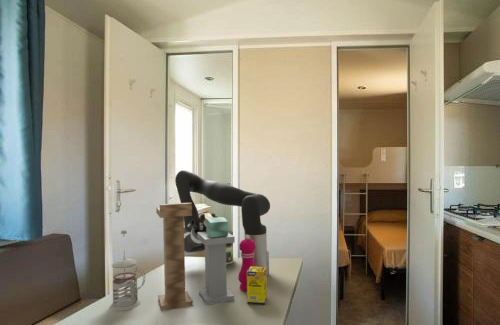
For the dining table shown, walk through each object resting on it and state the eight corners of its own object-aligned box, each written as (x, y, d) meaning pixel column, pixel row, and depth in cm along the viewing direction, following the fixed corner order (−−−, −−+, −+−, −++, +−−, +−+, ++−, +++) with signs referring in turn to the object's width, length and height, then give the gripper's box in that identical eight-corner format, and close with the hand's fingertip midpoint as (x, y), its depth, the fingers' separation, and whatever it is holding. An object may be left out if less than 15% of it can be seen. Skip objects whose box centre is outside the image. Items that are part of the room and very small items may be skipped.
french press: (116, 298, 122) (115, 227, 122) (149, 298, 122) (148, 227, 122) (104, 310, 112) (102, 233, 113) (139, 310, 112) (138, 232, 112)
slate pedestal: (225, 289, 129) (223, 230, 129) (236, 302, 117) (234, 236, 117) (198, 293, 125) (197, 232, 125) (206, 307, 113) (205, 239, 113)
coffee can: (234, 258, 171) (233, 230, 171) (232, 264, 160) (232, 234, 161) (213, 259, 171) (212, 230, 171) (210, 265, 161) (209, 234, 161)
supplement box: (265, 305, 114) (264, 271, 114) (247, 304, 115) (246, 271, 115) (267, 298, 119) (267, 266, 119) (250, 297, 121) (249, 265, 121)
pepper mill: (260, 286, 131) (259, 233, 131) (254, 293, 124) (253, 237, 124) (242, 285, 133) (241, 232, 133) (235, 291, 126) (234, 236, 127)
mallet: (212, 220, 136) (212, 207, 136) (227, 235, 117) (228, 221, 116) (197, 221, 134) (197, 208, 134) (210, 237, 115) (210, 222, 114)
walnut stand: (187, 294, 124) (185, 199, 125) (194, 308, 112) (191, 203, 112) (158, 299, 121) (156, 201, 121) (162, 313, 109) (159, 205, 109)
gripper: (182, 224, 143) (188, 207, 129) (216, 221, 148) (225, 205, 134) (184, 242, 139) (190, 226, 125) (218, 238, 144) (228, 223, 130)
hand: (208, 215), depth 130 cm, fingers closed on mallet, 3 cm apart
